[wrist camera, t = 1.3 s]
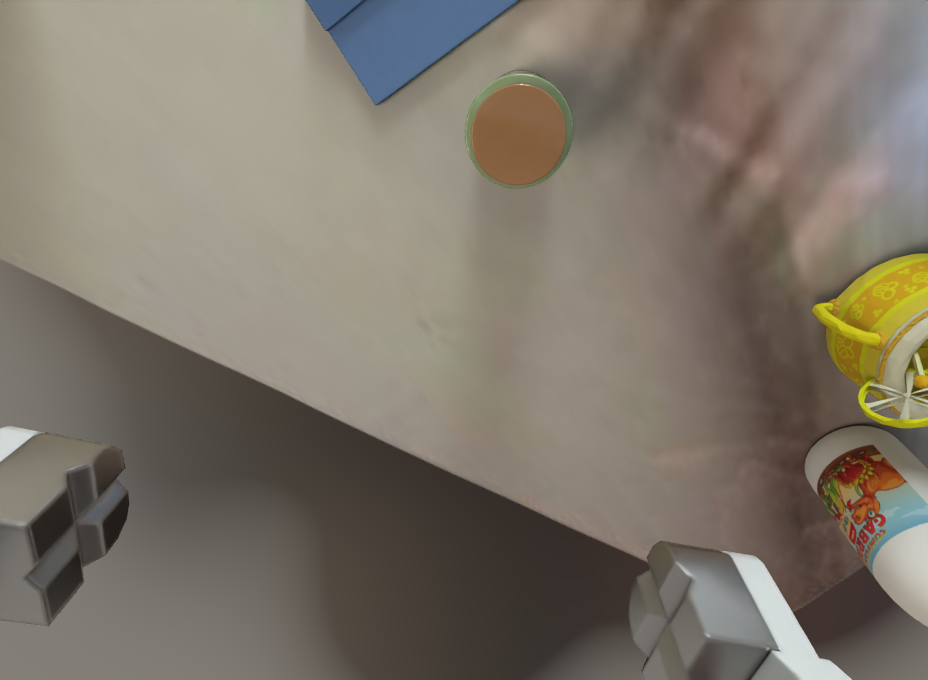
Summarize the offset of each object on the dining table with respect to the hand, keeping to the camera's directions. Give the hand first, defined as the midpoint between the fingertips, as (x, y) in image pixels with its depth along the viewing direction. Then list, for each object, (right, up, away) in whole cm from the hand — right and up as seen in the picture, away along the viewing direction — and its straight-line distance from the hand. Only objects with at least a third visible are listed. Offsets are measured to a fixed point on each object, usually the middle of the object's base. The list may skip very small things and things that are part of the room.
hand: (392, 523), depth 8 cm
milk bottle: (+35, -8, +39) cm, 53 cm away
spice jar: (+5, +18, +28) cm, 34 cm away
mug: (+33, +5, +32) cm, 46 cm away
